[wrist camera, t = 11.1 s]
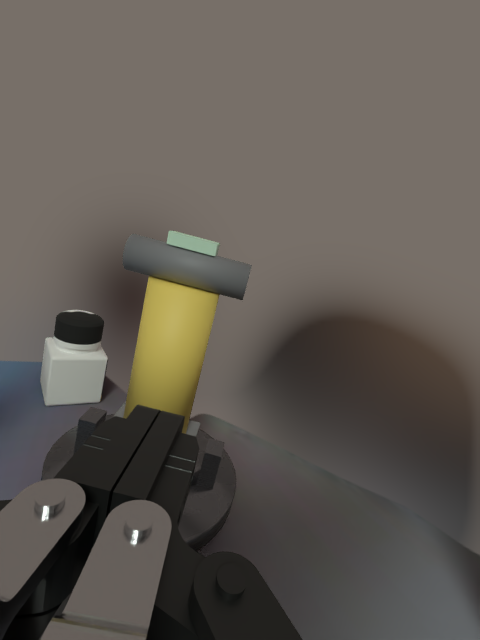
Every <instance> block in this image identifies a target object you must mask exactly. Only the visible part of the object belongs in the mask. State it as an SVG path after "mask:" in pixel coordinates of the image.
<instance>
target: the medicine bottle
mask: <svg viewBox="0 0 480 640" xmlns="http://www.w3.org/2000/svg"><path fill="white" fill-rule="evenodd" d="M103 327H104V321H103V320H102V318H101V317H100V316H98V315H96V314H94V313H91V312H87V311H82V310H69V311H64V312H61V313H60V314H58V315H57V317H56V324H55V331H54V338H49V337H48V338H46V340H45V348H44V355H43V363H42V371H41V379H40V382H41V387H42V392H43V397H44V403H45V405H46V406H55V405H71V404H86V403H99V402H100V401H101V397H102V391H103V385H104V380H105V373H106V368H107V362H108V357H107V356H106V354H105V352H104V350H103V349H102V347H101V345H100V344H101V338H102V332H103Z"/></svg>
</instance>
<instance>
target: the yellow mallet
mask: <svg viewBox="0 0 480 640" xmlns="http://www.w3.org/2000/svg"><path fill="white" fill-rule="evenodd" d="M219 245H220V243H218V242H214V241H210V240H206V239H202V238H199V237H195V236H191V235H187V234H183V233H180V232H175V231H169V234H168V239H167V242H163V241H159V240H155V239H151V238H148V237H143V236H140V235H136V234H132V235H131V236H130V237H129V238H128V240H127V242H126V245H125V248H124V253H123V265H124V268H125V269H126V270H130V271H134V272H138V273H141V274H145V275H149V279H148V284H147V290H146V295H145V301H144V306H143V312H142V317H141V323H140V329H139V334H138V339H137V345H136V350H135V356H134V362H133V367H132V372H131V378H130V383H129V389H128V394H127V400H126V403H124V404H123V405H122V406H121V408H120V409H119V410H118V411H117V413H116V414H115V415H114V416H118V417H121V418H125V419H126V418H127V417H128V416H129V414H130V413H131V412H132V410H133V409H134V408H135V406H136V405H142V406H146V407H150V408H154V409H158V410H161V411H166V412H170V413H174V414H178V415H182V416H185V419H184V425H183V429H182V433H184V434H188V435H192V436H196V438H197V435H198V431H199V427H200V423H199V422H196V421H192V420H189V419H190V414H191V410H192V406H193V402H194V398H195V394H196V389H197V385H198V381H199V377H200V373H201V368H202V365H203V361H204V356H205V352H206V348H207V344H208V340H209V336H210V332H211V327H212V323H213V319H214V314H215V311H216V307H217V303H218V298H219V294H221V295H225V296H228V297H232V298H236V299H240V300H243V296H244V293H245V289H246V285H247V282H248V278H249V274H250V270H251V266H252V265H250V264H246V263H242V262H239V261H235V260H231V259H227V258H223V257H220V256H217V254H218V250H219ZM114 416H113V417H114Z"/></svg>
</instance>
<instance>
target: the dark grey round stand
mask: <svg viewBox="0 0 480 640" xmlns="http://www.w3.org/2000/svg"><path fill="white" fill-rule="evenodd" d="M106 413H107V411H105V410H101V409H97V408H93V407H91V408H90V409H89V410H88V411H87V412H86V413H85V414H84V415H83V416H82V417H81V418H80V419H79V422H78V426H76V427H74V428H72V429H71V430H69V431H68V432H66V433H65V434H64V435H63V436H62V437H60V438H59V439H58V440H57V441H56V443H55V444H54V445H53V446H52V447H51V449H50V451H49V452H48V454H47V456H46V459H45V461H44V465H43V471H42V478H41V481H43V480H47V479H53V478H54V477H55V476H56V475H57V473H58V472H59V471H60V470H61V469H62V468H63V467H64V465H65V464H66V463H67V462H68V461H69V460H70V458H71V457H72V456H73V455H74V454H75V453H76V452H77V450H78V449H79V448H80V447H81V446H83V444H84V442H85V441H86V440H87V439H88V438H89V437H90V436H91V435H92V433H93V432H94V431H95V430H96V429H97V427H98V426H99V425H100V424H101V423H103V422H105V421H107V420H109V419H111V418H112V417H113V416H114V415H115V414H111V415H107V416H106ZM197 442H198V445H199V453H198V457H197V461H196V465H195V470H194V474H193V478H192V482H191V487H190V491H189V494H188V497H187V500H186V504H185V507H184V510H183V513H182V516H181V520H180V523H179V527H178V529H179V532H180V534H181V536H182V538H183V540H184V541H185V542H186V543H187V544H188V545H189V546H190V547H191V548H192V549H193V550H195V551H196V550H197V549H199V548H201V547H202V546H204V545H205V544H206V543H207V542H209V541H210V540H211V539H212V538H213V537H214V536H215V535H216V534H217V533H218V532H219V530H220V529H221V528H222V526H223V524H224V523H225V521H226V519H227V516H228V514H229V511H230V508H231V505H232V501H233V498H234V494H235V489H236V474H235V469H234V466H233V464H232V461H231V460H230V458H229V456H228V454H227V453H226V452H225V450H224V449H223V447H224V442H221V441H217V440H214V439H213V438H212V437H211V436H209V435H208V434H206V433H205V432H204V431H202V430H200V429H199V431H198V435H197Z"/></svg>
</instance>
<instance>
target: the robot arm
mask: <svg viewBox="0 0 480 640" xmlns="http://www.w3.org/2000/svg"><path fill="white" fill-rule="evenodd" d="M184 419H185V416H182V415H178V414H174V413H170V412H166V411H161V410H158V409H154V408H150V407H146V406H142V405H136V406H135V408H134V409H133V410H132V412H131V413H130V414H129V416H128V417H127V418H126V419H125V418H121V417H118V416H114V417H112V418H111V419H109V420H107V421H105V422H103V423H101V424H100V425H99V426H98V427H97V429H96V430H95V431H94V432H93V433H92V435H91V436H90V437H89V438H88V439H87V440H86V441H85V442H84V444H83V446H81V447H80V448H79V449H78V450H77V452H76V453H75V454H74V455H73V456H72V457H71V458H70V460H69V461H68V462H67V463H66V464H65V465H64V467H63V468H62V469H61V470H60V471H59V472H58V473H57V475H56V476H55V477H54V478H53V479H47V480H43V481H40V482H37V483H34V484H32V485H30V486H29V487H27V488H25V489H24V490H23V491H22V492H20V493H19V494H18V495H17V496H16V497H15V498H14V499H13V500H3V501H0V640H302V638H301V637H300V635H299V634H298V632H297V631H296V629H295V627H294V626H293V624H292V623H291V621H290V620H289V618H288V617H287V615H286V613H285V612H284V610H283V609H282V607H281V606H280V604H279V603H278V601H277V599H276V598H275V596H274V595H273V593H272V592H271V590H270V589H269V587H268V585H267V584H266V582H265V581H264V579H263V578H262V576H261V575H260V573H259V571H258V570H257V569H256V567H255V566H254V565H253V564H252V563H251V562H250V561H248V560H247V559H246V558H244V557H242V556H241V555H238V554H235V553H232V552H217V553H214V554H211V555H209V556H207V557H206V558H205V557H204V556H202V555H201V554H199V553H198V552H196V551H195V550H193V549H192V548H191V547H190V546H189V545H188V544H187V543H186V542H185V541H184V540H183V538H182V536H181V534H180V532H179V529H178V527H179V523H180V520H181V516H182V513H183V510H184V507H185V504H186V500H187V497H188V494H189V491H190V487H191V482H192V478H193V474H194V470H195V465H196V461H197V457H198V453H199V445H198V442H197V438H196V436H192V435H188V434H184V433H182V429H183V425H184ZM73 588H74V590H73ZM72 591H73V592H72Z"/></svg>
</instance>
